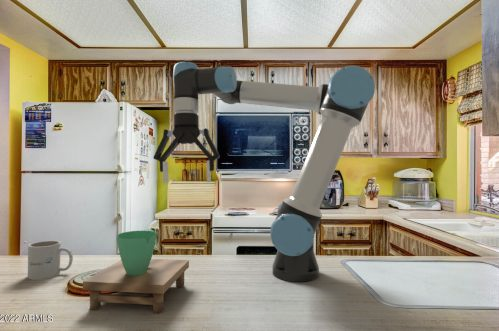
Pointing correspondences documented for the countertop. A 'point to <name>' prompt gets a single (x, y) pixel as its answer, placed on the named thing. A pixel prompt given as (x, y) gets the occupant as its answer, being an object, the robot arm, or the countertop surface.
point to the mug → (46, 259)
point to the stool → (136, 283)
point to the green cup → (136, 250)
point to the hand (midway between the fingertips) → (187, 182)
